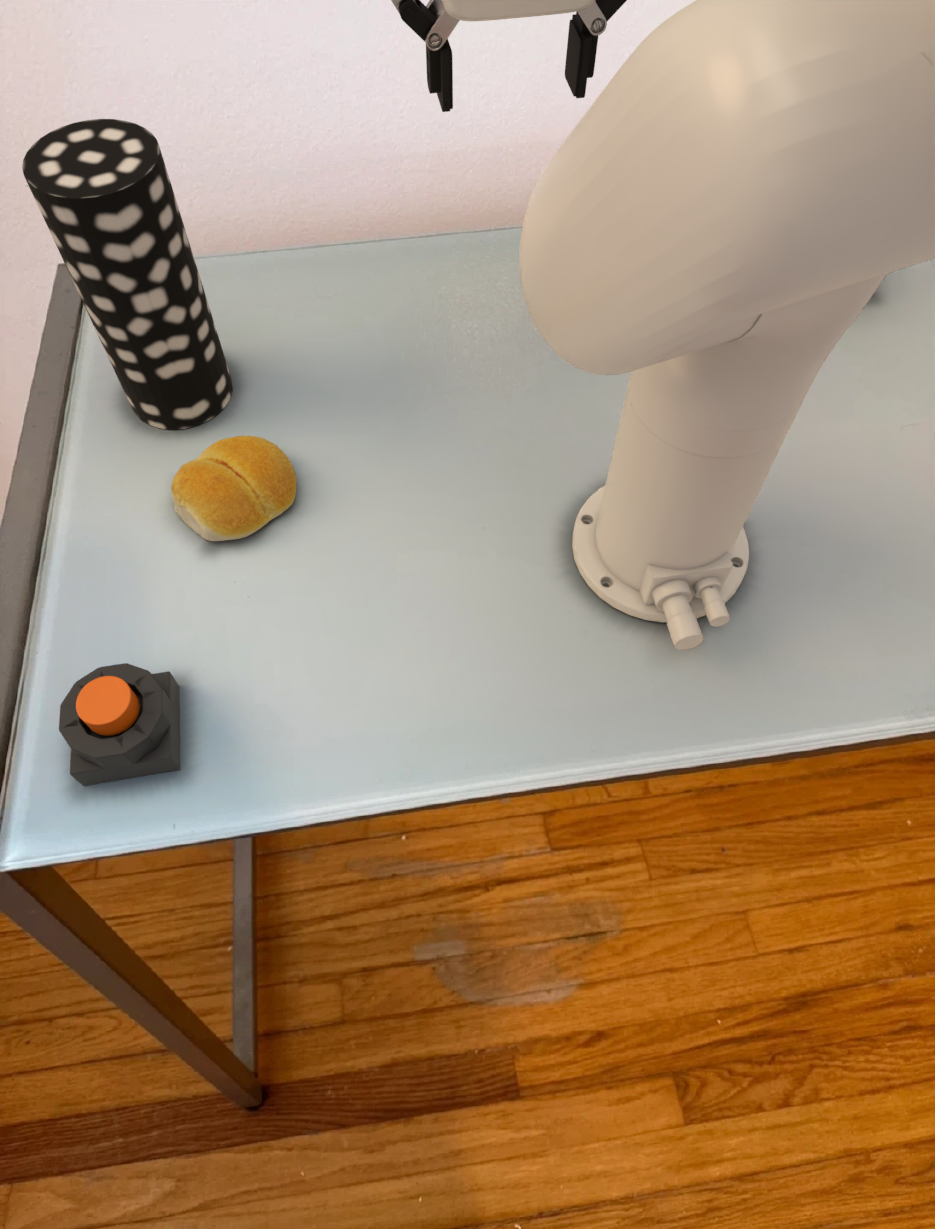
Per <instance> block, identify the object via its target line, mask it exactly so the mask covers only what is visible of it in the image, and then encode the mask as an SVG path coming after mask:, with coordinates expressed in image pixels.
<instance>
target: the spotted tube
mask: <svg viewBox="0 0 935 1229" xmlns="http://www.w3.org/2000/svg"><path fill="white" fill-rule="evenodd" d="M21 165H22V166H21V168H22V173H23V177H24V179H25V181H26V183H27V185H28V187H29V190H30V192H31V194H32V196H33V199H34V200H35V203H36V205H37V206H38V209H39V211H40V213H41V216H42V218H43V220H44V222H45V224H46V226H47V228H48V230H49V233H50V235H51V237H52V240H53V241H54V243H55V246H56V248H57V250H58V252H59V254H60V256H61V258H62V261H63V263H64V265H65V267H66V270H67V272H68V274H69V276H70V278H71V280H72V283H73V284H74V287H75V289H76V291H77V293H78V295H79V297H80V300H81V302H82V304H83V306H84V308H85V311H86V312H87V315H88V316H89V319H90V322H91V323H92V325H93V328H94V330H95V332H96V334H97V337H98V339H99V340H100V343H101V345H102V347H103V349H104V352H105V353H106V356H107V358H108V360H109V362H110V365H111V367H112V369H113V371H114V373H115V375H116V377H117V380H118V382H119V383H120V386H121V388H122V390H123V393H124V394H125V396H126V399H127V402H128V403H129V405H130V407H131V409H132V411H133V413H134V414H135V415H136V416H137V418H139V420H141V421H142V422H143V423H145V424H147V425H149V426H151V427H154V428H158V429H163V430H173V431H174V430H186V429H190V428H194V427H197V426H200V425H202V424H205V423H207V422H208V421H210V420H212V419H214V418H216V416H218V415H219V414H220V413H221V412H222V411H223V410H224V409H225V408H226V406H227V405H228V404H229V401H230V400H231V398H232V395H233V390H234V385H233V378H232V376H231V373H230V372H231V371H230V368H229V366H228V363H227V359H226V356H225V353H224V350H223V346H222V344H221V340H220V337H219V334H218V330H217V327H216V324H215V321H214V317H213V314H212V311H211V308H210V304H209V302H208V299H207V295H206V292H205V289H204V285H203V282H202V279H201V276H200V273H199V269H198V267H197V263H196V260H195V257H194V253H193V250H192V247H191V244H190V240H189V238H188V234H187V230H186V228H185V225H184V220H183V218H182V214H181V212H180V209H179V205H178V202H177V198H176V196H175V192H174V188H173V185H172V182H171V179H170V176H169V172H168V170H167V166H166V163H165V160H164V157H163V153H162V151H161V147H160V144H159V142H158V139H157V138H156V136H155V135H154V134H153V133H152V132H151V131H150V130H148V129H147V128H146V127H144V126H142V125H139V124H137V123H135V122H131V121H128V120H123V119H115V118H95V119H86V120H81V121H77V122H76V121H75V122H72V123H69V124H66V125H62V126H61V127H58V128H56V129H54V130H52V131H50V132H48V133H46V134H44V136H41V137H40V138H39V139H38V140H37V141H36V142H34V143H33V144H31V146H30V148H29V149H28V150H27V151H26V153H25V155H24V157H23V160H22V164H21Z"/></svg>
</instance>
